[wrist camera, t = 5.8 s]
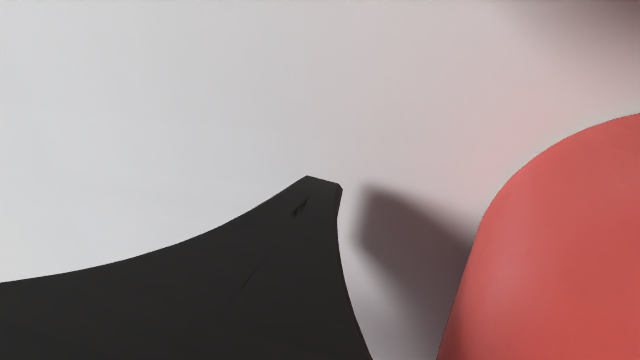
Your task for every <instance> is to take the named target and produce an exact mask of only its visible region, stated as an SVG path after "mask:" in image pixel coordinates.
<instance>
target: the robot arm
mask: <svg viewBox="0 0 640 360" xmlns="http://www.w3.org/2000/svg"><path fill="white" fill-rule="evenodd" d="M342 191H343V189H342V188H341V186H340V185H339V184H338V183H334V182H330V181H326V180H322V179H318V178H315V177H311V176H305V177H303V178H301V179H300V180H298V181H296V182H295V183H293V184H292V185H290V186H289V187H287V188H286V189H284V190H283V191H281V192H280V193H278V194H276V195H275V196H273V197H272V198H270V199H268V200H267V201H265V202H263V203H262V204H260V205H258V206H257V207H255V208H253V209H252V210H250V211H248V212H246V213H244V214H243V215H241V216H239V217H237V218H235V219H233V220H231V221H229V222H227V223H225V224H223V225H221V226H219V227H217V228H215V229H213V230H210V231H208V232H206V233H203V234H201V235H198V236H196V237H193V238H191V239H188V240H186V241H183V242H180V243H178V244H175V245H172V246H168V247H165V248H162V249H159V250H156V251H152V252H149V253H146V254H143V255H140V256H136V257H133V258H129V259H126V260H122V261H118V262H114V263H110V264H105V265H101V266H96V267H92V268H87V269H82V270H78V271H72V272H67V273H62V274H55V275H49V276H42V277H36V278H29V279H23V280H16V281H10V282H2V283H0V360H373V359H372V357H371V355H370V353H369V350H368V348H367V345H366V343H365V340H364V338H363V335H362V333H361V330H360V327H359V325H358V322H357V320H356V317H355V314H354V311H353V308H352V305H351V301H350V298H349V295H348V291H347V287H346V283H345V279H344V275H343V270H342V265H341V258H340V252H339V244H338V231H337V216H338V211H339V206H340V201H341V196H342Z"/></svg>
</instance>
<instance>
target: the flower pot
mask: <svg viewBox="0 0 640 360" xmlns="http://www.w3.org/2000/svg"><path fill="white" fill-rule="evenodd" d="M436 360H640V113H639V114H634V115H630V116H625V117H621V118H616V119H613V120H610V121H607V122H604V123H601V124H598V125H595V126H592V127H590V128H587V129H584V130H582V131H580V132H578V133H576V134H573V135H571V136H569V137H567V138H565V139H563V140H561V141H560V142H558V143H556V144H554V145H553V146H551V147H550V148H548V149H547V150H545V151H544V152H542V153H541V154H539V155H538V156H536V157H535V158H533V159H532V160H531V161H530V162H528V163H527V164H526V165H525V166H524V167H522V168H521V169H520V170H519V171H518V172H517V173H515V174H514V175H513V176H512V177H511V178H510V179H509V180H508V181H507V182H506V184H505V185H504V186H503V187H502V189H501V190H500V191H499V192H498V194H497V195H496V197H495V198H494V200H493V201H492V203H491V204H490V206H489V207H488V209H487V210H486V212H485V214H484V216H483V218H482V220H481V222H480V225H479V228H478V231H477V234H476V236H475V239H474V243H473V246H472V250H471V252H470V255H469V258H468V261H467V264H466V267H465V269H464V272H463V275H462V278H461V281H460V284H459V287H458V290H457V294H456V297H455V300H454V303H453V306H452V309H451V312H450V315H449V318H448V321H447V324H446V328H445V331H444V334H443V338H442V341H441V345H440V348H439V352H438V355H437V359H436Z"/></svg>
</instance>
